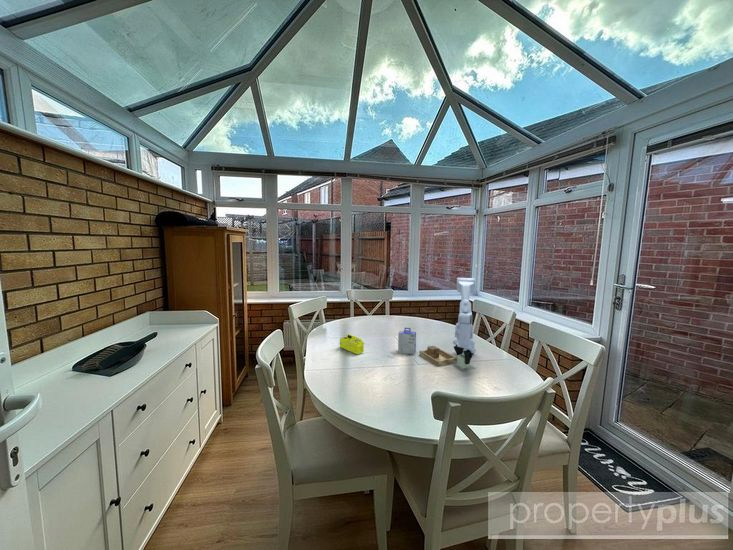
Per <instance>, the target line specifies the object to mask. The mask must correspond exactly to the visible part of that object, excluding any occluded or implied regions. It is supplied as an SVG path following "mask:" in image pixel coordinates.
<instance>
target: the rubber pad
mask: <svg viewBox="0 0 733 550" xmlns="http://www.w3.org/2000/svg"><path fill="white" fill-rule="evenodd" d="M449 365H450V366H452V367H454V368H456V369H457V370H459V371H461V372H467V371H470V370H471V371H472V370H475V369H477V367H475V366H473V365H471V364H470V367H469V368H465V369H462V368H460V367H459V366H457V363H452V364H449Z"/></svg>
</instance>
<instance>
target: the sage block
mask: <svg viewBox="0 0 733 550" xmlns="http://www.w3.org/2000/svg"><path fill="white" fill-rule="evenodd" d="M456 358H457V366H459V367H460V368H462V369H465V368H469V367H470V365H471V362H470V363H469V364H465V356H464V354H461V355H457V354H456Z"/></svg>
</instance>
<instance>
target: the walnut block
mask: <svg viewBox="0 0 733 550" xmlns="http://www.w3.org/2000/svg"><path fill="white" fill-rule="evenodd" d="M439 349H440V348H439V347H437V346H435V345H429V346H427V348H426V350H427V355H429V356H430V357H432V358H437V357H439Z"/></svg>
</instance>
